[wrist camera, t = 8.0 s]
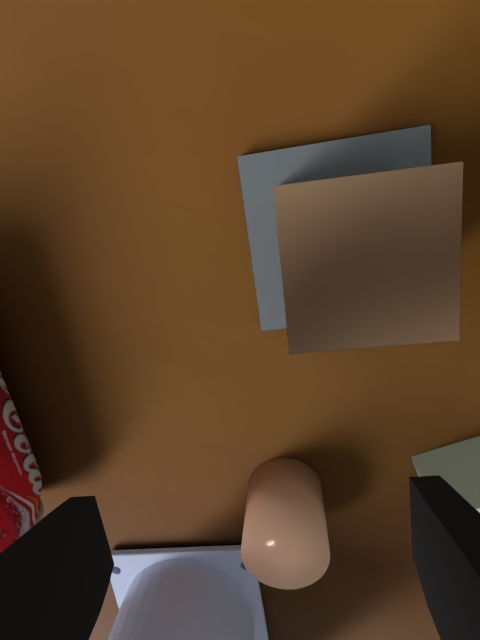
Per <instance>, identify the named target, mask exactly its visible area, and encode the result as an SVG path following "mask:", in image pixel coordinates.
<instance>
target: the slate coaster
mask: <svg viewBox="0 0 480 640" xmlns="http://www.w3.org/2000/svg"><path fill="white" fill-rule="evenodd" d="M237 158H238V165H239V172H240V179H241V186H242V194H243V201H244V208H245V215H246V222H247V230H248V237H249V244H250V251H251V258H252V265H253V273H254V280H255V287H256V294H257V301H258V309H259V316H260V323H261V330H262V331H265V330H275V329H284V328H287V325H286V315H285V305H284V295H283V284H282V274H281V264H280V254H279V243H278V233H277V223H276V213H275V202H274V192H273V186H278V185H285V184H293V183H301V182H308V181H316V180H324V179H331V178H339V177H347V176H354V175H362V174H370V173H377V172H385V171H393V170H401V169H408V168H416V167H424V166H431V125H425V126H419V127H413V128H407V129H401V130H394V131H388V132H382V133H376V134H370V135H364V136H358V137H352V138H346V139H340V140H334V141H328V142H322V143H316V144H310V145H304V146H298V147H291V148H285V149H279V150H273V151H267V152H261V153H255V154H249V155H243V156H237Z"/></svg>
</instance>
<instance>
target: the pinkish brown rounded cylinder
mask: <svg viewBox="0 0 480 640" xmlns="http://www.w3.org/2000/svg"><path fill="white" fill-rule="evenodd" d="M241 558H242V561H243V564H244V566H245V568H246V569H247V571H248V572H249V573H250V574H251V575H252V576H253V577H254V578H255V579H257V580H258V581H260V582H261V583H263V584H265V585H268V586H270V587H274V588H278V589H289V590H290V589H299V588H303V587H306V586H309V585H311V584H313V583H315V582H316V581H317V580H319V579H320V578H321V577H322V576H323V575H324V573H325V572H326V570H327V568H328V566H329V563H330V549H329V541H328V533H327V525H326V517H325V509H324V501H323V493H322V486H321V482H320V479H319V477H318V475H317V474H316V472H315V471H314V470H313V469H312V468H311V467H310V466H308V465H307V464H305V463H303V462H301V461H299V460H296V459H292V458H275V459H271V460H268V461H266V462H264V463H262V464H261V465H259V466H258V467H257V468H256V469H255V470H254V472H253V473H252V475H251V477H250V480H249V485H248V493H247V502H246V510H245V519H244V527H243V535H242V544H241Z"/></svg>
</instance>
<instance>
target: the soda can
mask: <svg viewBox="0 0 480 640" xmlns="http://www.w3.org/2000/svg"><path fill="white" fill-rule="evenodd" d="M41 487H42V478H41V473H40V470H39V467H38V465H37V462H36V459H35V457H34V454H33V451H32V449H31V446H30V444H29V441H28V439H27V436H26V434H25V431H24V429H23V426H22V424H21V421H20V419H19V416H18V414H17V411H16V409H15V406H14V404H13V401H12V399H11V396H10V394H9V392H8V389H7V387H6V384H5V382H4V379H3V377H2V374H1V372H0V553H1V552H2V551H4V550H5V549H6V548H7V547H9V546H10V545H11V544H12V543H14V542H15V541H16V540H17V539H18V538H20V537H21V536H22V535H23V534H25V533H26V532H27V531H28V530H29V529H31V528H32V527H33V526H34V525H36V524H37V523H38V522H39V521H41V520H42V517H43V512H44V508H43V503H42V501H41V499H40V493H41Z"/></svg>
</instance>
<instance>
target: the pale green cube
mask: <svg viewBox="0 0 480 640" xmlns="http://www.w3.org/2000/svg"><path fill="white" fill-rule="evenodd" d="M411 458H412V461H413V463H414V466H415V468H416V471H417V474H418V476H435V475H439V476H441V477H442V478H443V479H444V480H445V481H446V482H447V483H449V484H450V485H451V486H452V487H453V488H454V489H455V490H456V491H457V492H458V493H459V494H460V495H461V496H462V497H463V498H464V499H465V500H466V501H468V502H469V503H470V504H471V505H472V506H473V507H474V508H475V509H476V510H477V511H478V512H479V513H480V436H478V437H474V438H471V439H468V440H464V441H461V442H458V443H454V444H451V445H448V446H444V447H441V448H438V449H434V450H431V451H428V452H424V453H421V454H418V455H414V456H411Z"/></svg>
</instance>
